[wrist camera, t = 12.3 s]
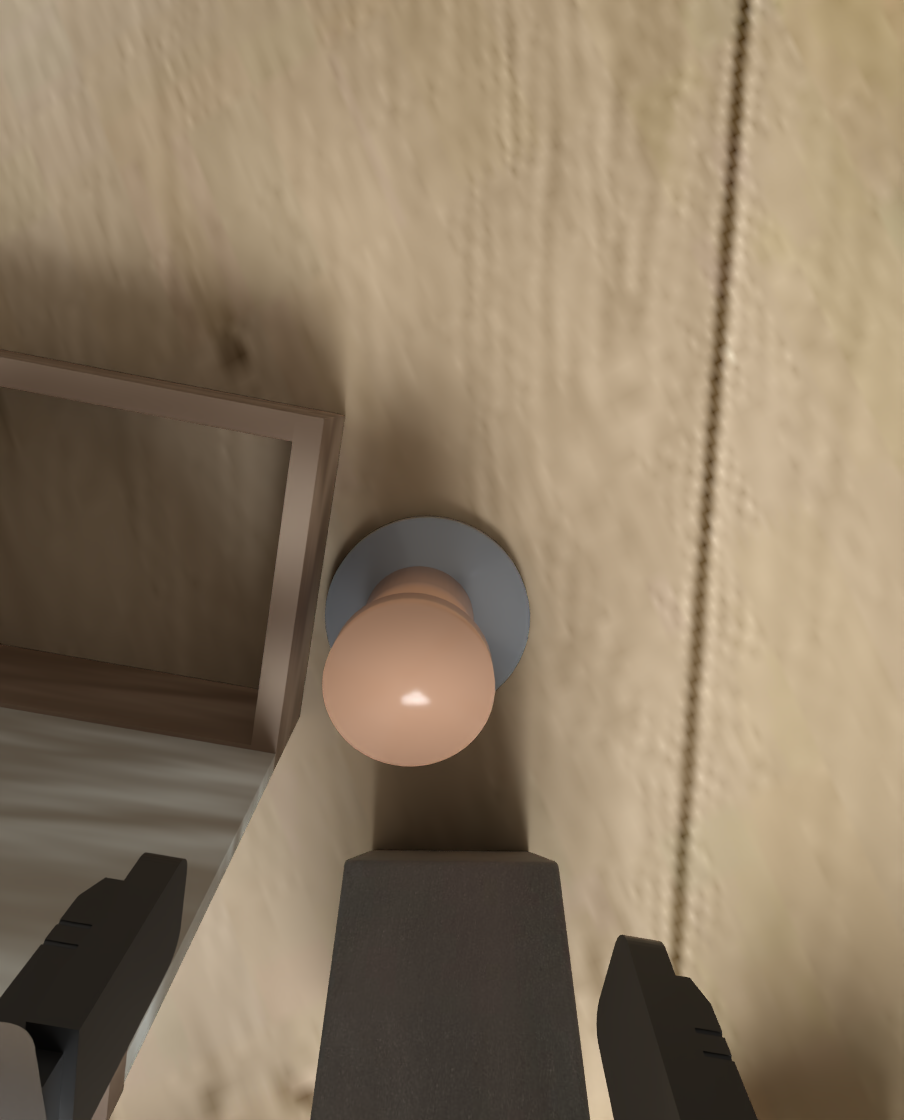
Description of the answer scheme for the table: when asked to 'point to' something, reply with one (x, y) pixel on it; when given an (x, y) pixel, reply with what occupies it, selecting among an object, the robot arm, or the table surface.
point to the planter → (450, 992)
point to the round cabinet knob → (410, 671)
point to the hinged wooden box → (152, 707)
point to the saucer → (455, 554)
